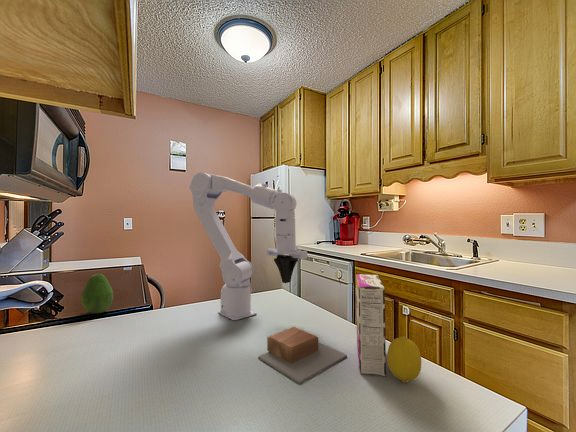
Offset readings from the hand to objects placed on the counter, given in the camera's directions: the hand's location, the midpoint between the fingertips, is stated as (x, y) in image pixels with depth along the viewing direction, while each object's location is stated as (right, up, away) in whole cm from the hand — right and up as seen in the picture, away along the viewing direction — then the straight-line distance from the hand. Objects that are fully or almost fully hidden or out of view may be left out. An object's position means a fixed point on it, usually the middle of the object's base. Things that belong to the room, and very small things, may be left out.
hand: (286, 282), depth 79 cm
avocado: (-58, -11, +5) cm, 59 cm away
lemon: (+21, -10, -31) cm, 39 cm away
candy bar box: (+17, -10, -23) cm, 31 cm away
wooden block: (-1, -8, -17) cm, 19 cm away
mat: (+4, -10, -22) cm, 25 cm away
